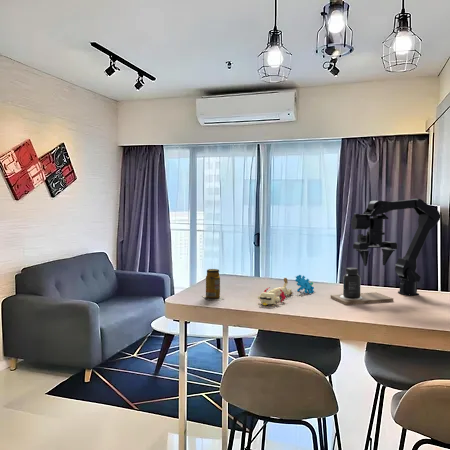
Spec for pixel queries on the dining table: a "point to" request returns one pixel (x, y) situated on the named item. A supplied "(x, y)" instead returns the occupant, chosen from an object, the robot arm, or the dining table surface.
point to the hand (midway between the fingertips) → (374, 265)
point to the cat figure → (275, 294)
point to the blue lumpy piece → (304, 284)
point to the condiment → (213, 285)
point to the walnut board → (363, 298)
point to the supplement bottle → (351, 283)
